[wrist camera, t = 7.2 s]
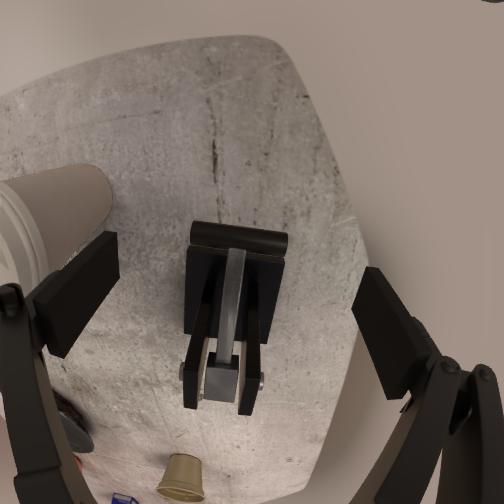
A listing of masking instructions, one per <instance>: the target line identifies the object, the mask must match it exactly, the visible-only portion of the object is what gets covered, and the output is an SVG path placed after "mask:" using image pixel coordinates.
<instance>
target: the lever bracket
mask: <svg viewBox="0 0 504 504" xmlns="http://www.w3.org/2000/svg"><path fill="white" fill-rule="evenodd" d="M227 257H228V250H222V249H215V248H207V247H200V246H192V245H189V247H188V249H187V257H186V278H185V307H184V334H189V335H191V339H190V343H189V347H188V351H187V355H186V359H185V362H181V364H180V369H179V380H180V381H183V402H184V408H189V409H195V410H196V409H197V406H198V400H199V394H200V388H201V382H202V377H203V371H204V365H205V359H206V354H207V348H208V343H209V338H217V339H218V331H219V323H220V314H221V306H222V297H223V289H224V281H225V273H226V265H227ZM284 266H285V261H284V258H283V257H275V256H268V255H260V254H253V253H246V256H245V264H244V271H243V278H242V286H241V293H240V300H239V308H238V315H237V323H236V330H235V338H234V341H241V360H240V381H239V402H238V415H246V416H251V415H252V411H253V408H254V404H255V400H256V396H257V393H258V390H260V391H261V390H262V389H263V384H264V373H263V372H261V362H260V344H267V341H268V337H269V332H270V328H271V324H272V319H273V315H274V311H275V306H276V302H277V298H278V293H279V289H280V284H281V279H282V275H283V270H284Z"/></svg>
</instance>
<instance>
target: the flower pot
mask: <svg viewBox="0 0 504 504" xmlns="http://www.w3.org/2000/svg"><path fill="white" fill-rule="evenodd" d="M155 491H156V492H157V493H158V494H159V495H161V496H163V497H165V498H168V499H171V500H175V501H179V502H185V503H202V502H204V501H206V497H205V496H204V491H203V489H202V469H201V462H200V461H199V460H198V459H197V458H195V457H192V456H189V455H184V454H182V455H176V454H175V455H172V456H171V457H170V460H169V463H168V465H167V468H166V471H165V473H164V476H163V478H162V481H161V482H160V483H159V486H158V487H156V488H155Z"/></svg>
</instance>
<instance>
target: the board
mask: <svg viewBox="0 0 504 504" xmlns="http://www.w3.org/2000/svg"><path fill="white" fill-rule="evenodd" d="M0 392H1V394H2V388H1V389H0ZM52 392H53V391H52ZM53 395H54V399H55V402H56V406H57V409H58V412H59V415H60V418H61V422H62V424H63V427H64V430H65V433H66V436H67V439H68V441H69V444H70V447H71V449H72V451H73V452H77V453H90V452H92V451H93V450H94V444H93V441H92V439H91V437H90V436H89V434H88V431H87V429H86V427H85V426H84V424H83V420H82V417H81V415H80V414H79V413H78V412H77V411H76V410H75V409H74V408H73V407H72V405H71V404H70V403H68V402H67V401H65V400H63V399H62V398H61V397H60V396H58V395H57V394H56V393H55V392H53ZM2 398H3V397H2Z"/></svg>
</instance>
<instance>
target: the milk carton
mask: <svg viewBox="0 0 504 504" xmlns="http://www.w3.org/2000/svg"><path fill="white" fill-rule="evenodd" d="M111 504H139V503H138V502H137V501H136V500H135V499H134V498H132V497H128V496H124V495H120V494H116V493H114V495H113V499H112V503H111Z"/></svg>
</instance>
